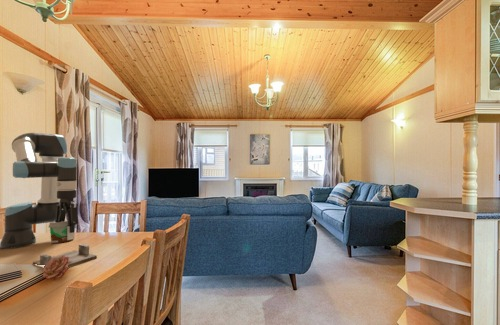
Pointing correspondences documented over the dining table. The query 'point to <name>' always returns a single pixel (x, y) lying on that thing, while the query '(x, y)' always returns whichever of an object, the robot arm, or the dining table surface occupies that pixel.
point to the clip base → (70, 256)
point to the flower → (56, 267)
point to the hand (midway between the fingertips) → (66, 238)
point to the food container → (59, 232)
